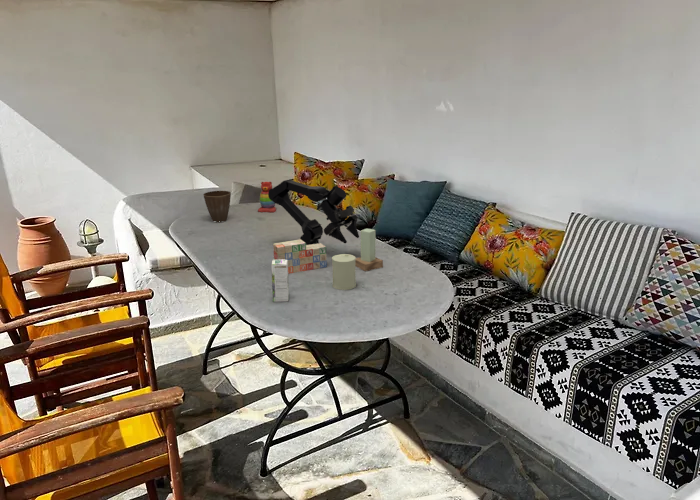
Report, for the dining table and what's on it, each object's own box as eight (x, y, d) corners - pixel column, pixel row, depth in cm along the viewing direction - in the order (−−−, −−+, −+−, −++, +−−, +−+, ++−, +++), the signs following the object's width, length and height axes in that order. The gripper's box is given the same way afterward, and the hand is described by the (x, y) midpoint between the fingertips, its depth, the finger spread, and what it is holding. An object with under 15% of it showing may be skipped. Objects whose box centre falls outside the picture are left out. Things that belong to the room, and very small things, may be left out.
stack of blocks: (321, 263, 232) (320, 236, 228) (327, 267, 226) (326, 240, 222) (274, 270, 223) (272, 242, 219) (279, 275, 218) (277, 247, 214)
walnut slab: (365, 271, 221) (365, 264, 220) (353, 265, 228) (353, 258, 227) (382, 267, 225) (382, 260, 224) (370, 261, 232) (370, 254, 232)
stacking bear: (256, 212, 320) (254, 183, 314) (262, 208, 329) (260, 179, 323) (274, 212, 318) (272, 183, 312) (278, 208, 327) (277, 180, 322)
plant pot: (229, 224, 294) (227, 196, 289) (202, 224, 294) (200, 196, 289) (235, 217, 308) (233, 190, 303) (210, 217, 308) (207, 190, 303)
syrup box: (273, 296, 197) (271, 259, 193) (289, 295, 198) (287, 258, 193) (272, 302, 192) (270, 264, 187) (289, 301, 192) (287, 264, 188)
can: (359, 282, 209) (358, 254, 205) (351, 291, 200) (351, 261, 197) (337, 280, 212) (336, 251, 208) (329, 288, 203) (328, 259, 200)
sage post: (360, 260, 225) (360, 230, 221) (366, 257, 229) (366, 228, 225) (369, 262, 223) (369, 232, 219) (375, 259, 226) (375, 229, 222)
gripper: (328, 204, 218) (350, 234, 216) (354, 196, 233) (375, 224, 230) (314, 220, 225) (335, 249, 223) (340, 211, 239) (360, 238, 237)
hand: (352, 240), depth 228 cm, fingers open, 9 cm apart
